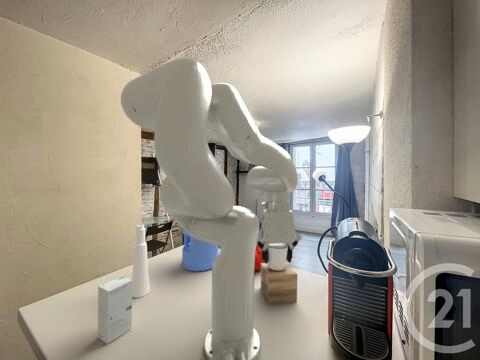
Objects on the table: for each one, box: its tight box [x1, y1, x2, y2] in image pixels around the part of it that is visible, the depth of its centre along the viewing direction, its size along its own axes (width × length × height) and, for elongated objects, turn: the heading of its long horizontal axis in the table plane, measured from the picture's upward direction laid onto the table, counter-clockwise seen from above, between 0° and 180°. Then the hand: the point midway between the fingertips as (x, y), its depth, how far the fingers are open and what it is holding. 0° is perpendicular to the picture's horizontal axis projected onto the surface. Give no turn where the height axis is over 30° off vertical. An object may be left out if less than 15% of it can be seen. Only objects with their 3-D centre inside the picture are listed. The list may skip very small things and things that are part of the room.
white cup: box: [267, 243, 288, 270], centre depth 66 cm, size 7×7×7 cm
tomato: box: [254, 244, 265, 271], centre depth 85 cm, size 11×12×9 cm
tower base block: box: [260, 277, 298, 305], centre depth 66 cm, size 9×9×4 cm
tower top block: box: [260, 261, 298, 291], centre depth 66 cm, size 9×9×4 cm
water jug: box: [181, 227, 219, 272], centre depth 88 cm, size 16×16×28 cm
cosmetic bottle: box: [131, 224, 152, 299], centre depth 66 cm, size 6×6×22 cm
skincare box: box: [97, 276, 133, 345], centre depth 50 cm, size 6×4×12 cm
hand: (276, 260), depth 66 cm, fingers open, 7 cm apart
